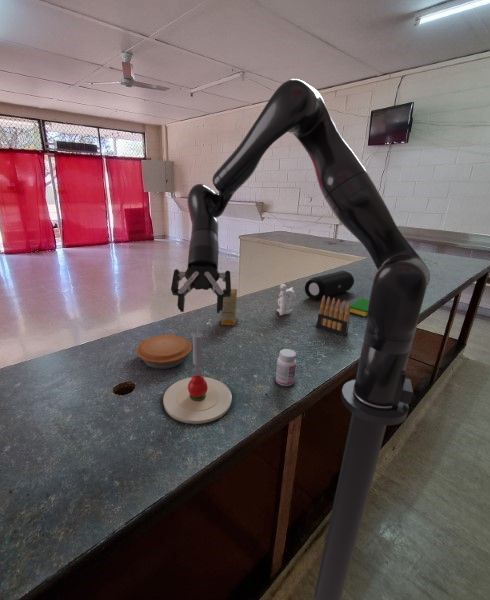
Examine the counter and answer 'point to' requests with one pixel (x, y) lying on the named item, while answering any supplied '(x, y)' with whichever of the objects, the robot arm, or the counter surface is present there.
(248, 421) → the counter surface
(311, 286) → the portable speaker
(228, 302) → the shoe polish box
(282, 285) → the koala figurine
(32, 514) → the counter surface
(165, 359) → the pie
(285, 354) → the pill bottle
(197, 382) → the forked strawberry
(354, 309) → the dish sponge
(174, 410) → the plate
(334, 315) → the ammunition clip
